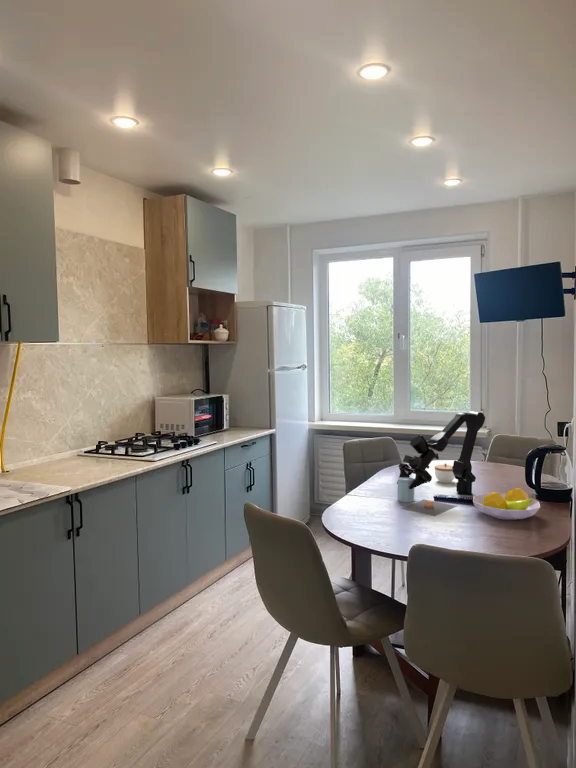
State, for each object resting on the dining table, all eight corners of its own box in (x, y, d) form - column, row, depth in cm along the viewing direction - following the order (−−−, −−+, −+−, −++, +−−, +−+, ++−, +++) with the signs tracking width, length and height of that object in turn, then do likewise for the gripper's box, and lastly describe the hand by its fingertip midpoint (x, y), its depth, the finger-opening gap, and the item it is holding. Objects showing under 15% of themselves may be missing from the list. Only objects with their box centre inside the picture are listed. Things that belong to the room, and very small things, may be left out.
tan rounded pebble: (433, 506, 251) (433, 500, 251) (433, 508, 247) (434, 503, 247) (424, 505, 252) (424, 500, 252) (424, 508, 248) (424, 502, 248)
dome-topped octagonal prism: (407, 497, 266) (408, 476, 265) (416, 501, 260) (417, 479, 259) (394, 499, 263) (395, 477, 262) (403, 503, 257) (404, 481, 256)
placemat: (423, 500, 262) (423, 499, 262) (456, 506, 251) (456, 506, 251) (400, 509, 247) (400, 508, 247) (434, 517, 237) (434, 516, 237)
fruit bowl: (464, 506, 253) (464, 480, 252) (526, 506, 252) (527, 481, 251) (483, 526, 225) (484, 497, 224) (554, 527, 224) (555, 498, 224)
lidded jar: (456, 484, 292) (457, 466, 291) (434, 483, 294) (435, 465, 293) (455, 479, 302) (455, 462, 302) (433, 478, 304) (434, 461, 304)
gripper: (402, 445, 270) (381, 470, 266) (427, 452, 253) (405, 479, 249) (415, 460, 274) (395, 486, 270) (441, 468, 257) (420, 495, 253)
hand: (403, 486), depth 260 cm, fingers open, 9 cm apart
